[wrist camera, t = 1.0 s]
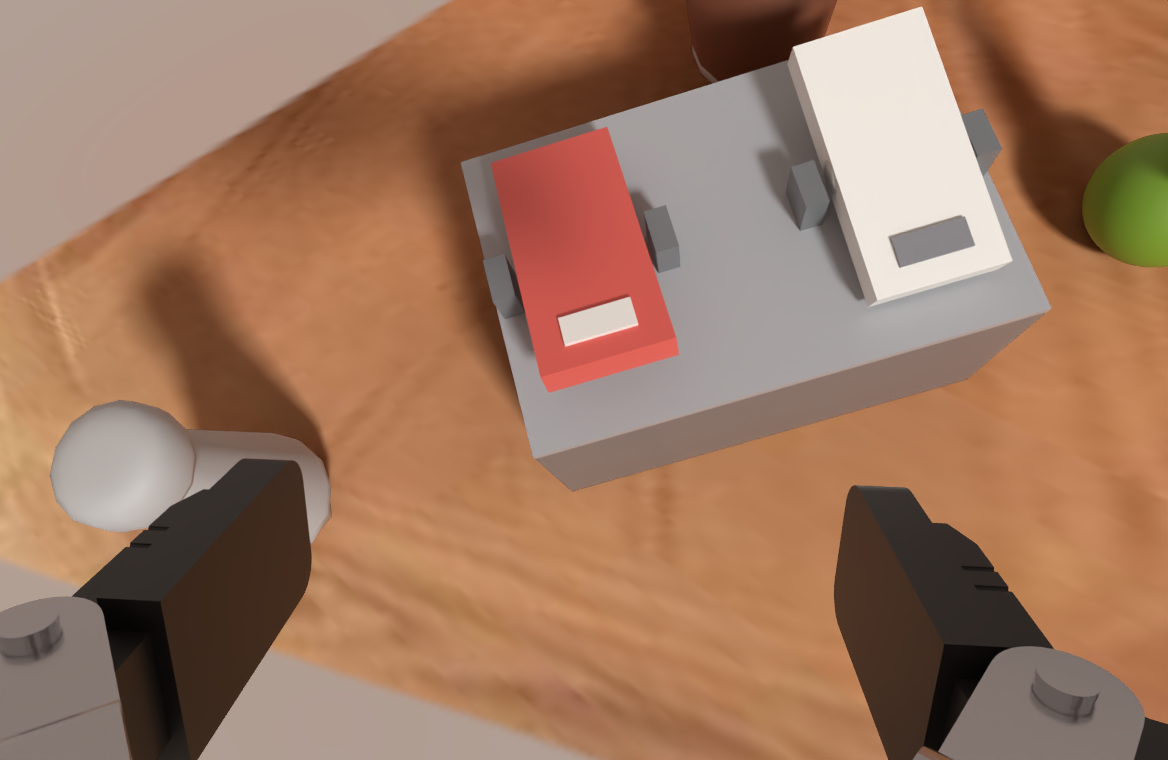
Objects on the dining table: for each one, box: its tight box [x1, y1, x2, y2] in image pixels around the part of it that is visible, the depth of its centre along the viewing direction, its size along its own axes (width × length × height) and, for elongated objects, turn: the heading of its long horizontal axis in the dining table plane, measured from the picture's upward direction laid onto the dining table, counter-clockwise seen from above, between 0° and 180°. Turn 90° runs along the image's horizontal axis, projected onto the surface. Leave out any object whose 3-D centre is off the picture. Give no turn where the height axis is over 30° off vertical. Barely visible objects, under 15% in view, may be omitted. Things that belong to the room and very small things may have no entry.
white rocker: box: [787, 7, 1012, 307], centre depth 27 cm, size 4×9×1 cm, turn 15°
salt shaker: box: [50, 400, 332, 544], centre depth 32 cm, size 6×6×13 cm
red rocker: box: [491, 127, 679, 393], centre depth 28 cm, size 4×9×1 cm, turn 15°
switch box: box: [461, 60, 1051, 491], centre depth 33 cm, size 18×12×11 cm, turn 105°
